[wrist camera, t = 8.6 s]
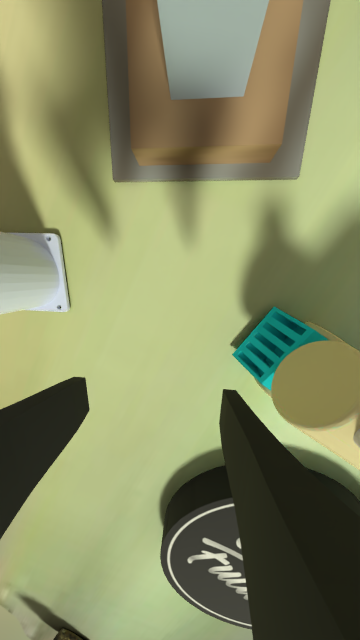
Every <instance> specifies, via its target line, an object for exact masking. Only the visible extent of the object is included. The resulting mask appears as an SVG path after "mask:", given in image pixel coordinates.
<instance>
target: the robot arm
mask: <svg viewBox="0 0 360 640" xmlns="http://www.w3.org/2000/svg"><path fill="white" fill-rule="evenodd" d="M49 238H51V240H49ZM60 306H61V308H60ZM69 309H70V305H69V297H68V290H67V283H66V276H65V269H64V261H63V254H62V247H61V240H60V237H59V236H58V235H57V234H54V233H4V232H0V314H4V313H9V312H15V311H20V310H37V311H56V312H66V311H69ZM88 412H89V403H88V395H87V387H86V379H85V378H82V377H73V378H70V379H68V380H65V381H63V382H60V383H58V384H56V385H54V386H52V387H49V388H47V389H45V390H43V391H41V392H39V393H36V394H34V395H32V396H30V397H28V398H26V399H23V400H21V401H19V402H17V403H14V404H12V405H10V406H8V407H5V408H3V409H1V410H0V539H1V538H2V536H3V534H4V533H5V531H6V530H7V528H8V527H9V525H10V524H11V522H12V520H13V519H14V517H15V516H16V514H17V513H18V511H19V510H20V508H21V507H22V505H23V504H24V502H25V501H26V499H27V498H28V496H29V495H30V493H31V492H32V491H33V489H34V488H35V486H36V485H37V484H38V482H39V481H40V480H41V478H42V477H43V476H44V474H45V473H46V472H47V470H48V469H49V468H50V466H51V465H52V464H53V462H54V461H55V460H56V458H57V457H58V456H59V454H60V453H61V452H62V450H63V449H64V448H65V446H66V445H67V444H68V442H69V441H70V440H71V438H72V437H73V436H74V434H75V433H76V432H77V430H78V429H79V427H80V425H81V424H82V422H83V420H84V419H85V417H86V415H87V413H88ZM219 424H220V434H221V443H222V449H223V454H224V459H225V464H226V469H227V474H228V479H229V483H230V488H231V493H232V498H233V503H234V507H235V512H236V518H237V524H238V529H239V536H240V543H241V551H242V558H243V565H244V572H245V580H246V587H247V595H248V602H249V610H250V617H251V625H252V633H253V640H360V516H358V515H357V514H356V513H355V512H354V511H353V510H351V509H350V508H349V507H348V506H347V505H346V504H345V503H343V502H342V501H341V500H340V499H339V498H338V497H337V496H335V495H334V494H333V493H332V492H331V491H330V490H329V489H328V488H326V487H325V486H324V485H323V484H322V483H321V482H320V481H319V480H318V479H317V478H316V477H315V476H314V475H313V474H312V473H310V472H309V471H308V470H307V469H306V468H305V467H304V466H303V465H302V464H301V463H300V462H299V461H298V460H297V459H296V458H295V457H294V456H293V455H292V454H291V453H290V452H289V451H288V450H287V449H286V448H285V447H284V446H283V445H282V444H281V443H280V442H279V441H278V440H277V439H276V437H275V436H274V435H273V434H272V433H271V432H270V431H269V430H268V428H267V427H266V426H265V425H264V424H263V423H262V422H261V420H260V419H259V418H258V417H257V416H256V415H255V413H254V412H253V411H252V410H251V409H250V407H249V406H248V405H247V404H246V402H245V401H244V400H243V399H242V397H241V396H240V395H239V394H238V392H237V391H236V390H226V389H223V395H222V404H221V413H220V422H219Z"/></svg>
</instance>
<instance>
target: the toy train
mask: <svg viewBox="0 0 360 640" xmlns="http://www.w3.org/2000/svg"><path fill="white" fill-rule="evenodd" d="M232 355H233V356H234V357H235V358H236V359H237V360H238V361H239V362H240V363H241V364H242V365H243V366H244V367H245V368H246V369H247V370H248V371H249V372H250V373H251V374H252V375H253V376H254V378H255V380H256V382H257V383H258V385H259V386H260V387H261V388H262V389H263V390H264V391H265V392H266V393H267V394H268V395H269V396H270V397H271V398H272V400H273V403H274V405H275V407H276V409H277V411H278V413H279V414H280V415H281V416H282V417H283V418H284V419H285V420H286V421H287V422H288V423H290V424H291V425H293V426H294V427H296V428H297V429H299V430H300V431H302V432H303V433H305V434H306V435H308V436H309V437H311V438H312V439H314V440H315V441H317V442H318V443H320V444H321V445H323V446H324V447H326V448H327V449H329V450H330V451H332V452H333V453H335V454H336V455H338V456H339V457H341V458H342V459H344V460H345V461H347V462H348V463H350V464H351V465H353V466H354V467H356V468H357V469H359V470H360V351H359V350H357V349H355V348H354V347H352V346H350V345H348V344H347V343H346V342H344V341H343V340H342V339H340V338H339V337H337V336H336V335H334V334H332V333H331V332H329V331H327V330H326V329H324V328H322V327H320V326H318V325H316V324H313V323H311V322H305V323H302V322H300V321H299V320H297V319H295V318H293V317H292V316H290V315H288V314H287V313H285V312H283V311H281V310H280V309H278V308H276V307H275V306H274V307H273V308H272V309H271V311H270V312H269V313H268V314H267V315H266V316H265V318H264V319H263V320H262V321H261V322H260V323H259V324H258V326H257V327H256V328H255V329H254V330H253V331H252V332H251V334H250V335H249V336H248V337H247V338H246V339H245V341H244V342H243V343H242V344H241V345H240V346H239V347H238V349H237V350H236V351H235V352H234V353H233V354H232Z"/></svg>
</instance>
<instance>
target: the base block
mask: <svg viewBox="0 0 360 640" xmlns="http://www.w3.org/2000/svg"><path fill="white" fill-rule="evenodd" d="M329 6H330V0H269V3H268V7H267V10H266V14H265V18H264V22H263V25H262V29H261V33H260V37H259V40H258V44H257V48H256V52H255V56H254V59H253V63H252V67H251V71H250V74H249V78H248V82H247V86H246V89H245V93H244V96H243V97H223V98H202V99H182V100H171V97H170V90H169V82H168V75H167V68H166V61H165V54H164V47H163V39H162V32H161V25H160V18H159V11H158V3H157V0H102V7H103V24H104V40H105V57H106V73H107V90H108V106H109V123H110V139H111V156H112V172H113V180H114V181H115V182H155V181H220V180H285V179H297V178H298V177H299V175H300V169H301V163H302V158H303V152H304V146H305V141H306V135H307V130H308V124H309V118H310V113H311V107H312V101H313V96H314V90H315V85H316V79H317V73H318V68H319V62H320V56H321V51H322V45H323V40H324V34H325V28H326V23H327V17H328V11H329Z"/></svg>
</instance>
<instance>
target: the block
mask: <svg viewBox="0 0 360 640" xmlns="http://www.w3.org/2000/svg"><path fill="white" fill-rule="evenodd" d="M157 3H158V11H159V18H160V25H161V32H162V39H163V47H164V54H165V61H166V68H167V75H168V82H169V90H170V97H171V100H182V99H202V98H223V97H243V96H244V93H245V89H246V86H247V82H248V78H249V74H250V71H251V67H252V63H253V59H254V56H255V52H256V48H257V44H258V40H259V37H260V33H261V29H262V25H263V22H264V18H265V14H266V10H267V7H268V3H269V0H157Z"/></svg>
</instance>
